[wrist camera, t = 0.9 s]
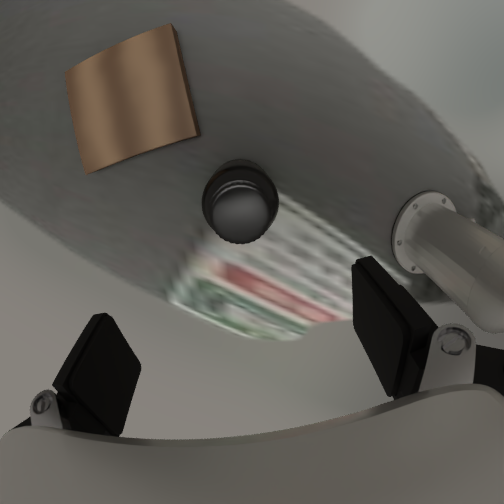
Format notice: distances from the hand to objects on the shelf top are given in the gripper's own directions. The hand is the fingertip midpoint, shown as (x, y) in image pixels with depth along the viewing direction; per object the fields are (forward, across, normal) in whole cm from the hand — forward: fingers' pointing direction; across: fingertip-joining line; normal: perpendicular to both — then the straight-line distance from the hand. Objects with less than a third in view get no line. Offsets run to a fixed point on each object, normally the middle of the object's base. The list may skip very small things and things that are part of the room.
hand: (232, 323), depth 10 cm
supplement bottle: (+24, -1, 0) cm, 24 cm away
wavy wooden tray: (+24, +9, -14) cm, 29 cm away
